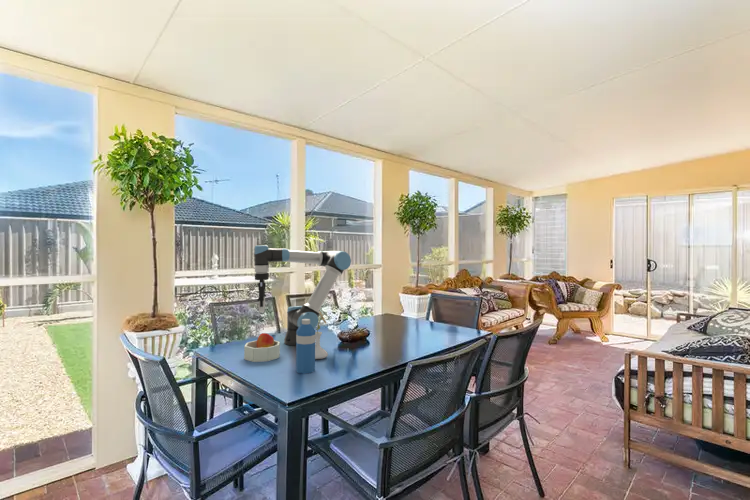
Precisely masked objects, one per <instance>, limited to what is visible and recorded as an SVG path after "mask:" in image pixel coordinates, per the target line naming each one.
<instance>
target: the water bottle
mask: <svg viewBox="0 0 750 500" xmlns="http://www.w3.org/2000/svg"><path fill="white" fill-rule="evenodd" d="M315 332H316V329H314V328H313V327H312V326H311V324H310V319H302V324H301V325H300V327H299V328H298V329H297V331H296V345H295V346H296V347H295V352H296V353H295V371H296V373H298V374H304V375H305V374H311V373H313V372H315V371H316V359H315V344H316V340H315Z"/></svg>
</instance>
